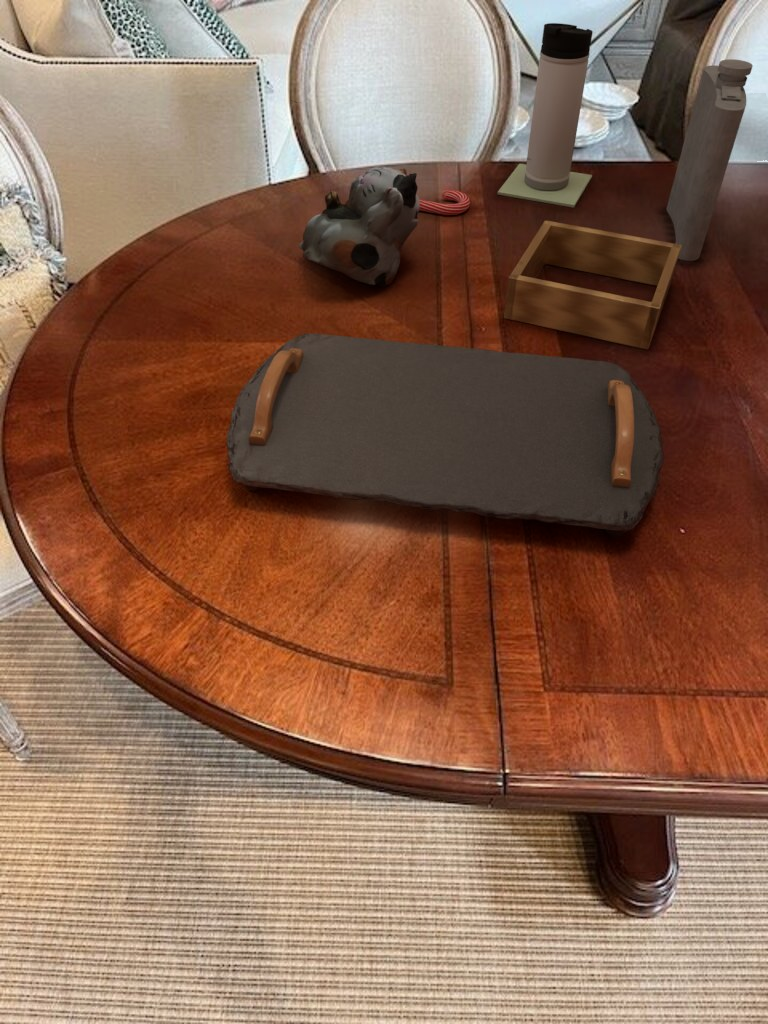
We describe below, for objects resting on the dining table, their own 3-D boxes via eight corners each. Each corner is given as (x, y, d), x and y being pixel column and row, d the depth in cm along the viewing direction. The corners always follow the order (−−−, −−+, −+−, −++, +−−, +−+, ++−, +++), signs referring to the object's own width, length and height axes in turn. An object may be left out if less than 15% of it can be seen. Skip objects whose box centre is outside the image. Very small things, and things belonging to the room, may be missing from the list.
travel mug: (513, 181, 113) (531, 22, 98) (544, 169, 116) (566, 13, 101) (546, 196, 109) (570, 32, 95) (577, 183, 112) (604, 23, 98)
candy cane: (376, 185, 113) (376, 175, 112) (475, 202, 109) (476, 191, 108) (359, 202, 109) (359, 192, 108) (461, 219, 105) (462, 209, 104)
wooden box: (670, 284, 93) (681, 244, 89) (648, 350, 83) (659, 308, 80) (539, 258, 97) (545, 220, 94) (503, 318, 88) (508, 277, 84)
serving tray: (647, 388, 78) (663, 335, 74) (665, 560, 62) (686, 505, 58) (273, 351, 83) (267, 298, 79) (200, 502, 67) (187, 447, 63)
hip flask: (665, 205, 108) (708, 41, 94) (696, 207, 108) (743, 43, 93) (673, 259, 97) (723, 83, 83) (707, 262, 97) (763, 86, 82)
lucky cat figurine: (299, 242, 100) (340, 131, 94) (385, 280, 103) (430, 175, 97) (291, 265, 87) (338, 138, 81) (390, 308, 90) (442, 188, 84)
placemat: (591, 177, 115) (592, 175, 114) (573, 207, 107) (574, 205, 107) (519, 165, 118) (519, 163, 117) (497, 194, 111) (497, 191, 110)
